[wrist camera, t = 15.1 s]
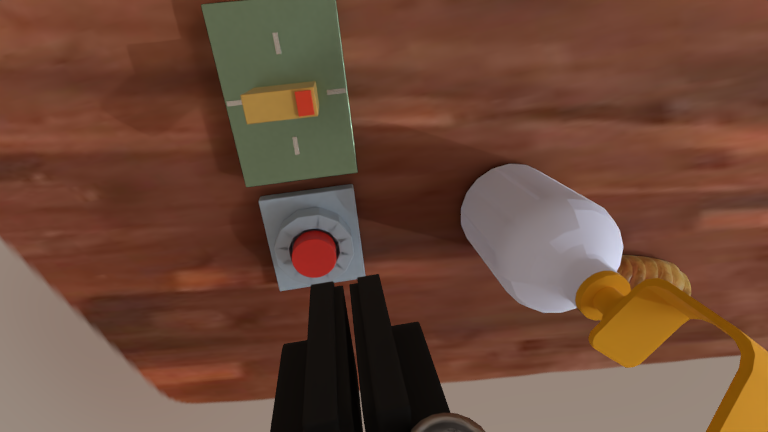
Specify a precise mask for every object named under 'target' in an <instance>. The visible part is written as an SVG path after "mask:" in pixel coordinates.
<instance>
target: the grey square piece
mask: <svg viewBox="0 0 768 432" xmlns="http://www.w3.org/2000/svg"><path fill="white" fill-rule="evenodd" d="M258 202H259V206H260V210H261V214H262V219H263V223H264V227H265V231H266V235H267V239H268V244H269V248H270V252H271V256H272V260H273V265H274V269H275V273H276V277H277V281H278V286H279V290H280V291H284V290H290V289H297V288H303V287H310V286H311V285H312V284H318V283H324V282H331V281H333V282H334V283H335V282H342V281H348V280H354V279H357V277H363V276H365V269H364V262H363V254H362V247H361V239H360V232H359V224H358V217H357V209H356V202H355V194H354V188H353V184H348V185H340V186H333V187H326V188H318V189H311V190H303V191H296V192H289V193H281V194H274V195H266V196H261V197H260V199H259V201H258ZM312 230H317V231H322V232H324V233H326V234H328V235H329V236H330V237H331V238H332V239H333V240H334V242H335V245H336V257H337V258H336V264H335V266H334V268H333V269H332V270H331V271H330V272H329V273H328V274H326V275H324V276H322V277H318V278H310V277H306V276H303V275H302V274H300V273H299V272H298V271H297V270H296V269H295V268H294V266H293V264H292V252H293V246H294V243H295V241H296V239H297V238H298V237H299V236H300V235H301V234H303V233H305V232H307V231H312Z"/></svg>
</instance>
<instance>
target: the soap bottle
mask: <svg viewBox="0 0 768 432" xmlns="http://www.w3.org/2000/svg"><path fill="white" fill-rule="evenodd" d="M461 226H462V228H463V230H464V233H465V235H466V238H467V239H468V240H469V242H470V243H471V244H472V246H473V247H474V248H475V250H476V251H477V252H478V254H479V255H480V257H481V258H482V259H483V261H484V262H485V263H486V265H487V266H488V267H489V269H490V270H491V271H492V273H493V274H494V275H495V277H496V278H497V279H498V281H499V282H500V283H501V285H502V286H503V287H504V289H505V290H506V291H507V292H508V293H509V294H510V295H511V296H512V297H513V298H514V299H515V300H516V301H517V302H518V303H520V304H522V305H524V306H527V307H529V308H532V309H535V310H537V311H540V312H543V313H562V312H565V311H568V310H572V309H575V308H578V310H579V311H580V312H581V313H583V314H584V315H585V316H586V317H587V318H589V319H592V320H601V322H600V323H599V324H598V325H597V326H596V327H595V328H594V329H593V330H592V331H591V332H590V335H589V343H590V344H591V346H592V347H593V348H594V349H596V350H598V351H599V352H601V353H603V354H604V355H606V356H608V357H609V358H611V359H613V360H614V361H616V362H617V363H619V364H621V365H622V366H624V367H626V368H629V367H635V366H637V365H639V364H641V363H642V362H643V361H644V360H645V359H646V358H647V357H648V356H649V355H650V354H651V353H652V352H653V351H655V350H656V349H657V348H658V347H659V346H660V345H661V344H662V343H663V342H664V341H665V340H666V339H667V338H668V337H669V336H670V335H672V334H673V333H674V332H675V331H676V330H677V329H678V328H679V327H680V326H681V325H682V324H684V323H685V322H686V321H688V320H689V319H702V320H704V321H707V322H709V323H712V324H714V325H715V326H717V327H718V328H719V329H721V330H722V331H724V332H725V333H726V334H728V335H729V336H731V337H732V338H733V339H734V340H735V342H736V344H737V346H738V348H739V350H740V352H741V359H740V366H739V369H738V371H737V373H736V375H735V377H734V379H733V381H732V383H731V384H730V386H729V389H728V390H727V392H726V394H725V396H724V398H723V400H722V402H721V404H720V406H719V407H718V409H717V411H716V413H715V415H714V417H713V419H712V421H711V423H710V425H709V427H708V429H707V430H706V432H768V351H766V350H765V349H764V348H763V347H761V346H760V345H759V344H757V343H756V342H755V341H754V340H752V339H751V338H750V337H748V336H747V335H746V334H745V333H743V332H742V331H741V330H739V329H738V328H736V327H735V326H733V325H732V324H730V323H729V322H728V321H726V320H725V319H723V318H722V317H720V316H719V315H717V314H716V313H714V312H713V311H711V310H710V309H708V308H707V307H705V306H704V305H702V304H701V303H700V302H698V301H697V300H695V299H694V298H692V297H691V296H689V295H688V294H686V293H685V292H683V291H682V290H680V289H679V288H677V287H676V286H674V285H673V284H672V283H670V282H669V281H666V280H663V279H660V278H652V279H646V280H644V281H643V282H641V283H639V284H638V285H636V286H635V287H634V288H633V289H632V290H631V288H630V284H629V282H628V281H627V280H626V279H625V278H624V277H623V276H622V275H620V274H619V273H618V272H617V270H618V268H619V266H620V263H621V258H622V252H623V243H622V238H621V234H620V230H619V228H618V226H617V225H616V223H615V221H614V220H613V219H612V218H611V216H610V215H609V214H608V212H607V211H606V210H605V209H604V208H603V207H601V206H599V205H598V204H596V203H594V202H592V201H591V200H589V199H587V198H585V197H584V196H582V195H580V194H578V193H577V192H575V191H573V190H571V189H570V188H568V187H566V186H564V185H563V184H561V183H559V182H557V181H556V180H554V179H552V178H551V177H549V176H547V175H545V174H544V173H542V172H540V171H538V170H536V169H534V168H532V167H530V166H528V165H523V164H507V165H503V166H500V167H496V168H493V169H491V170H489V171H488V172H487V173H485V174H484V175H482V176H481V177H479V178H478V179H477V180H476V181H475V182H474V184H473V185H472V186H471V187H470V189H469V190H468V191H467V193H466V196H465V198H464V201H463V204H462V207H461Z"/></svg>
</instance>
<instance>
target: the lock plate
mask: <svg viewBox="0 0 768 432" xmlns="http://www.w3.org/2000/svg"><path fill="white" fill-rule="evenodd" d="M201 8H202V12H203V16H204V20H205V24H206V28H207V32H208V36H209V40H210V44H211V48H212V52H213V56H214V60H215V64H216V68H217V72H218V76H219V80H220V84H221V88H222V92H223V96H224V100H225V104H226V108H227V112H228V116H229V121H230V125H231V129H232V133H233V137H234V141H235V145H236V149H237V153H238V157H239V161H240V165H241V169H242V173H243V177H244V181H245V185H246V187H253V186H260V185H268V184H276V183H283V182H291V181H298V180H306V179H313V178H321V177H328V176H336V175H343V174H351V173H357V172H358V169H357V161H356V153H355V145H354V138H353V130H352V122H351V114H350V106H349V98H348V90H347V83H346V75H345V67H344V59H343V51H342V43H341V36H340V28H339V20H338V12H337V4H336V0H241V1H230V2H219V3H208V4H201ZM312 81H315V82H316V87H317V94H318V100H319V112H318V116H315V117H306V118H298V119H289V120H281V121H272V122H264V123H255V124H247V123H246V118H245V114H244V110H243V105H242V101H241V97H240V95H242V94H244V93H245V92H247V91H249V90H251V89H253V88H257V87H266V86H275V85H284V84H293V83H302V82H312Z"/></svg>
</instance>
